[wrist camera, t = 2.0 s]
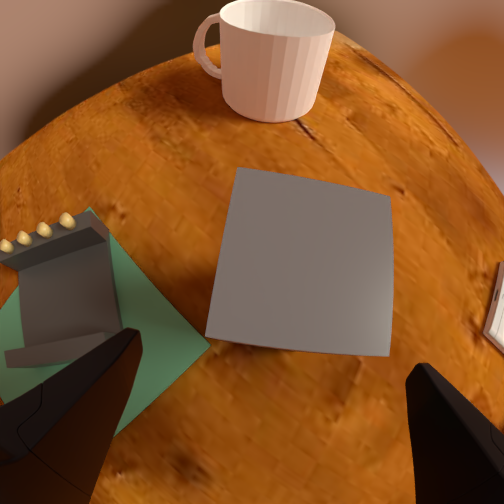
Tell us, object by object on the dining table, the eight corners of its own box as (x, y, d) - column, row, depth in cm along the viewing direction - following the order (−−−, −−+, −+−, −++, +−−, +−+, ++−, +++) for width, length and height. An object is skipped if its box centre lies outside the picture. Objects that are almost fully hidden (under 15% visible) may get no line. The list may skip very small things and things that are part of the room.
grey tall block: (296, 351, 17) (388, 356, 6) (227, 341, 18) (204, 336, 6) (305, 276, 19) (388, 181, 8) (239, 266, 19) (241, 151, 8)
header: (129, 352, 16) (100, 353, 12) (33, 368, 15) (-3, 367, 11) (108, 229, 19) (83, 202, 15) (22, 259, 18) (-9, 242, 14)
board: (64, 479, 13) (61, 481, 12) (-20, 347, 15) (-24, 346, 15) (211, 345, 17) (210, 345, 17) (92, 209, 20) (89, 206, 19)
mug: (326, 89, 26) (347, 18, 17) (290, 139, 23) (311, 49, 14) (229, 55, 27) (229, -12, 18) (179, 95, 24) (166, 17, 16)
